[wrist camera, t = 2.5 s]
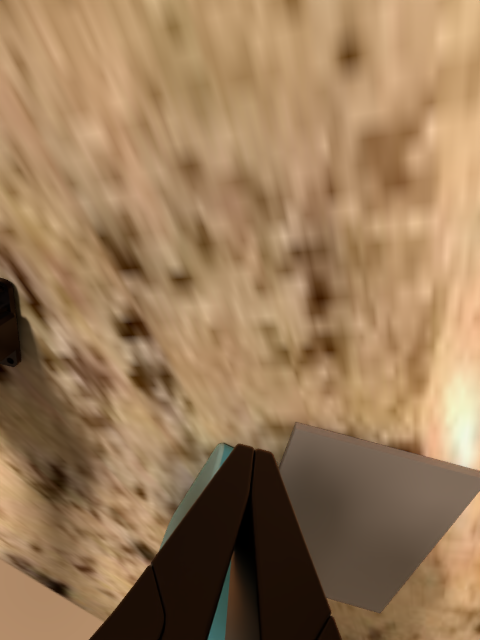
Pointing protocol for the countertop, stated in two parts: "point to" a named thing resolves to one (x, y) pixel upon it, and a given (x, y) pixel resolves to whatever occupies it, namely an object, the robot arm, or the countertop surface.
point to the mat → (369, 510)
